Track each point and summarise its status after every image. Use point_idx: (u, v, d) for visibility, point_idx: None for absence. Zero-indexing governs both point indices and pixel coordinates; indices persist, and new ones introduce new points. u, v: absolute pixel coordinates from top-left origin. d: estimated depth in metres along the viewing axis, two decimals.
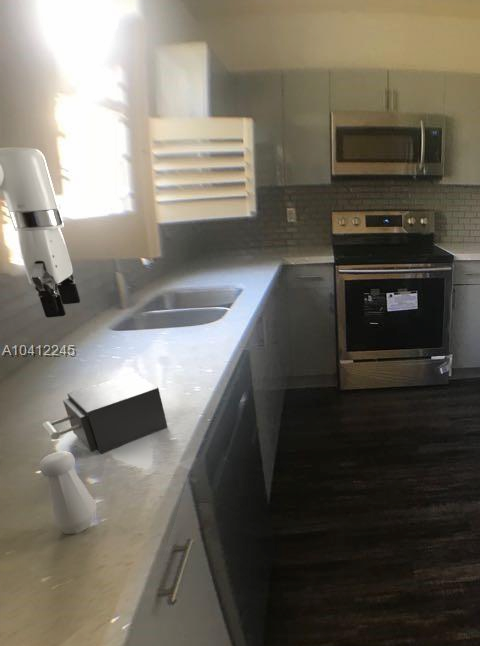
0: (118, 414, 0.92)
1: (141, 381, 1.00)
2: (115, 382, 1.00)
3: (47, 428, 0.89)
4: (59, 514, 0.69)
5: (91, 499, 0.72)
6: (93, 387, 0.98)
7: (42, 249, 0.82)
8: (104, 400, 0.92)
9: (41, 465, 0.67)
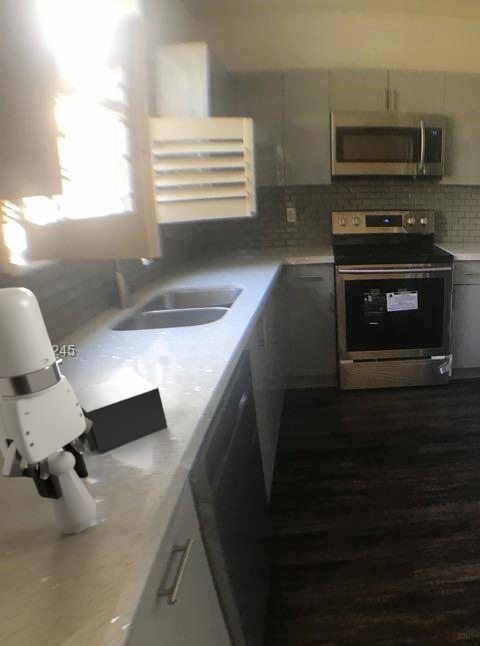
0: (118, 414, 0.92)
1: (141, 381, 1.00)
2: (115, 382, 1.00)
3: None
4: (59, 514, 0.69)
5: (91, 499, 0.72)
6: (93, 387, 0.98)
7: (12, 426, 0.60)
8: (104, 400, 0.92)
9: None
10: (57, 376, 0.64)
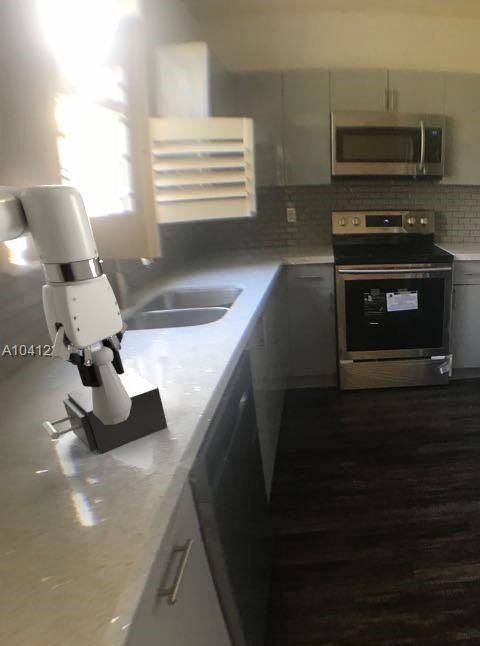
0: None
1: (141, 381, 1.00)
2: None
3: (47, 428, 0.89)
4: (99, 403, 0.75)
5: (127, 394, 0.79)
6: None
7: (61, 309, 0.67)
8: None
9: None
10: (100, 270, 0.70)
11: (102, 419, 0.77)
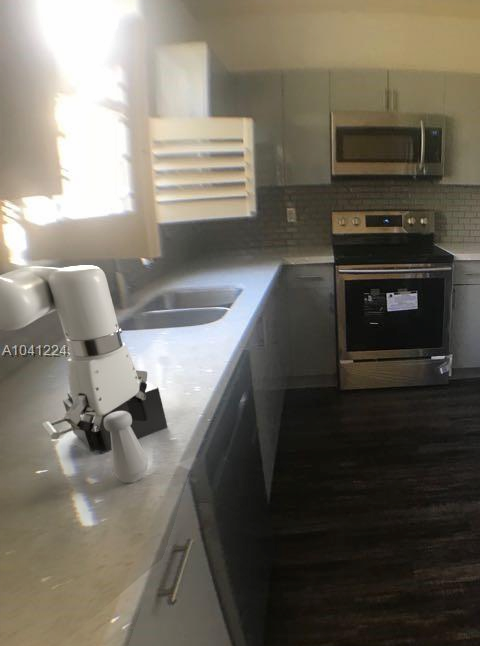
0: None
1: None
2: None
3: (47, 428, 0.89)
4: (118, 465, 0.80)
5: (144, 454, 0.84)
6: None
7: (85, 382, 0.72)
8: None
9: (105, 421, 0.78)
10: (120, 342, 0.75)
11: (121, 478, 0.82)
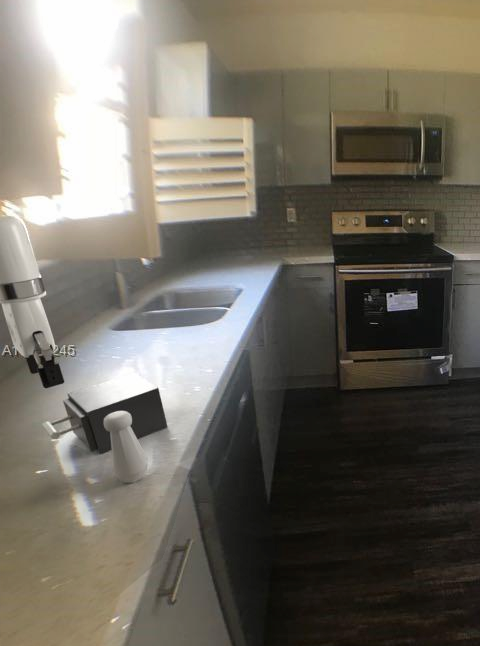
0: None
1: (141, 381, 1.00)
2: (115, 382, 1.00)
3: (47, 428, 0.89)
4: (118, 465, 0.80)
5: (144, 454, 0.84)
6: (93, 387, 0.98)
7: (40, 318, 0.80)
8: (104, 400, 0.92)
9: (105, 421, 0.78)
10: None
11: (121, 478, 0.82)
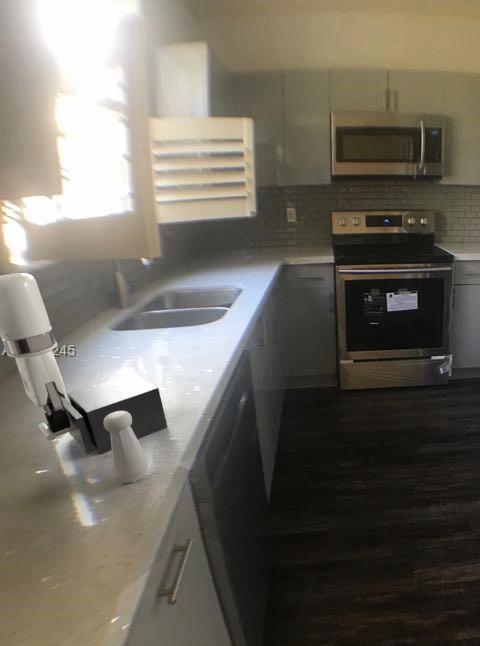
0: None
1: (141, 381, 1.00)
2: (115, 382, 1.00)
3: (43, 429, 0.88)
4: (118, 465, 0.80)
5: (144, 454, 0.84)
6: (93, 387, 0.98)
7: (52, 370, 0.83)
8: (104, 400, 0.92)
9: (105, 421, 0.78)
10: None
11: (121, 478, 0.82)
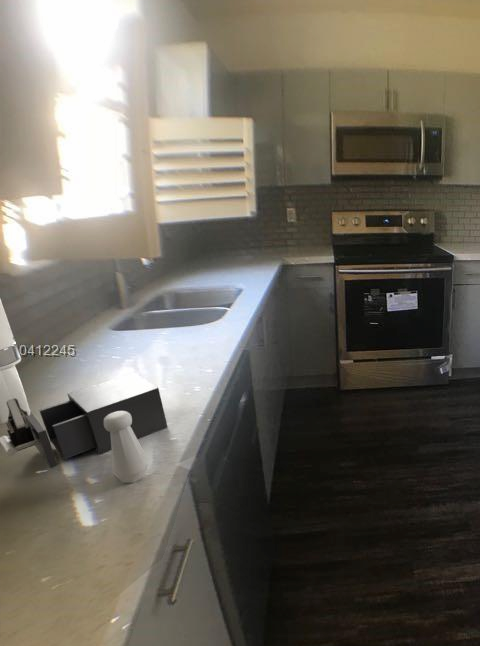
0: None
1: (141, 381, 1.00)
2: (115, 382, 1.00)
3: (4, 443, 0.84)
4: (118, 465, 0.80)
5: (144, 454, 0.84)
6: (93, 387, 0.98)
7: (14, 386, 0.79)
8: (104, 400, 0.92)
9: (105, 421, 0.78)
10: None
11: (121, 478, 0.82)
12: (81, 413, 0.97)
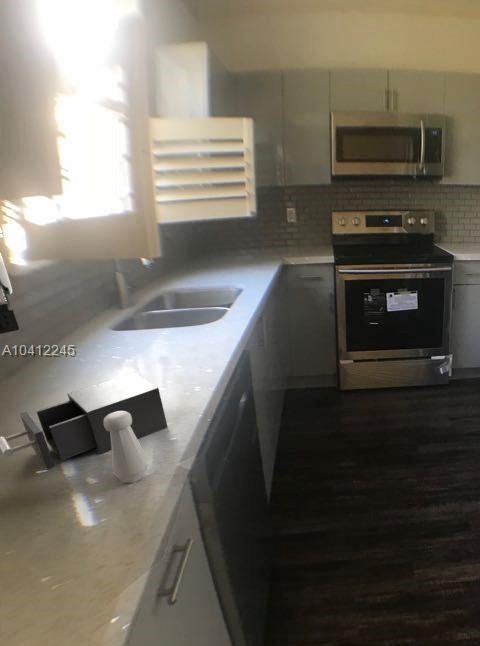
0: None
1: (141, 381, 1.00)
2: (115, 382, 1.00)
3: (0, 444, 0.84)
4: (118, 465, 0.80)
5: (144, 454, 0.84)
6: (93, 387, 0.98)
7: None
8: (104, 400, 0.92)
9: (105, 421, 0.78)
10: None
11: (121, 478, 0.82)
12: (79, 414, 0.96)
